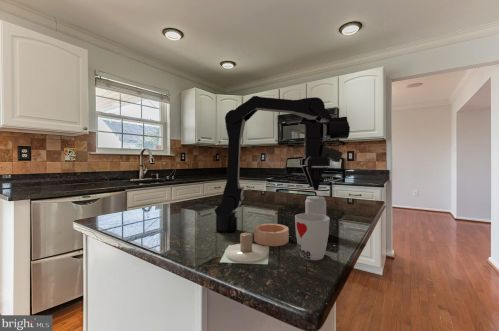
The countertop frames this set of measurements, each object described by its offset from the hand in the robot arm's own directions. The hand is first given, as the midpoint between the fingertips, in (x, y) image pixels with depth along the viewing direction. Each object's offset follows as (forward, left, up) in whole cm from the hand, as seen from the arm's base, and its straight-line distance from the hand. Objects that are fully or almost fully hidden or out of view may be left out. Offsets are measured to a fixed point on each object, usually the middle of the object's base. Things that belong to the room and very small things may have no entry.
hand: (313, 188), depth 77 cm
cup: (-3, -19, -15) cm, 24 cm away
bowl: (-13, -9, -15) cm, 22 cm away
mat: (-19, -20, -15) cm, 31 cm away
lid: (-19, -20, -14) cm, 31 cm away
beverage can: (+1, 0, -15) cm, 15 cm away
